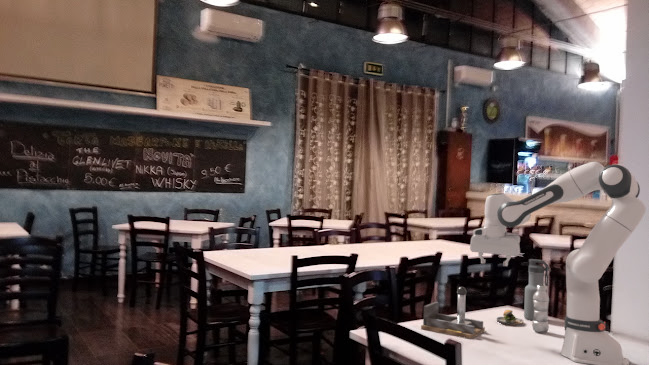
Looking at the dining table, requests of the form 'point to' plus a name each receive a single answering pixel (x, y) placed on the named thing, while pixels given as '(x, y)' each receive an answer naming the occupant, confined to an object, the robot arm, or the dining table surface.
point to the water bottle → (534, 285)
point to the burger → (509, 318)
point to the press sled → (461, 307)
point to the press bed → (449, 323)
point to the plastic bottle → (540, 309)
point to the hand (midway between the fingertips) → (494, 264)
